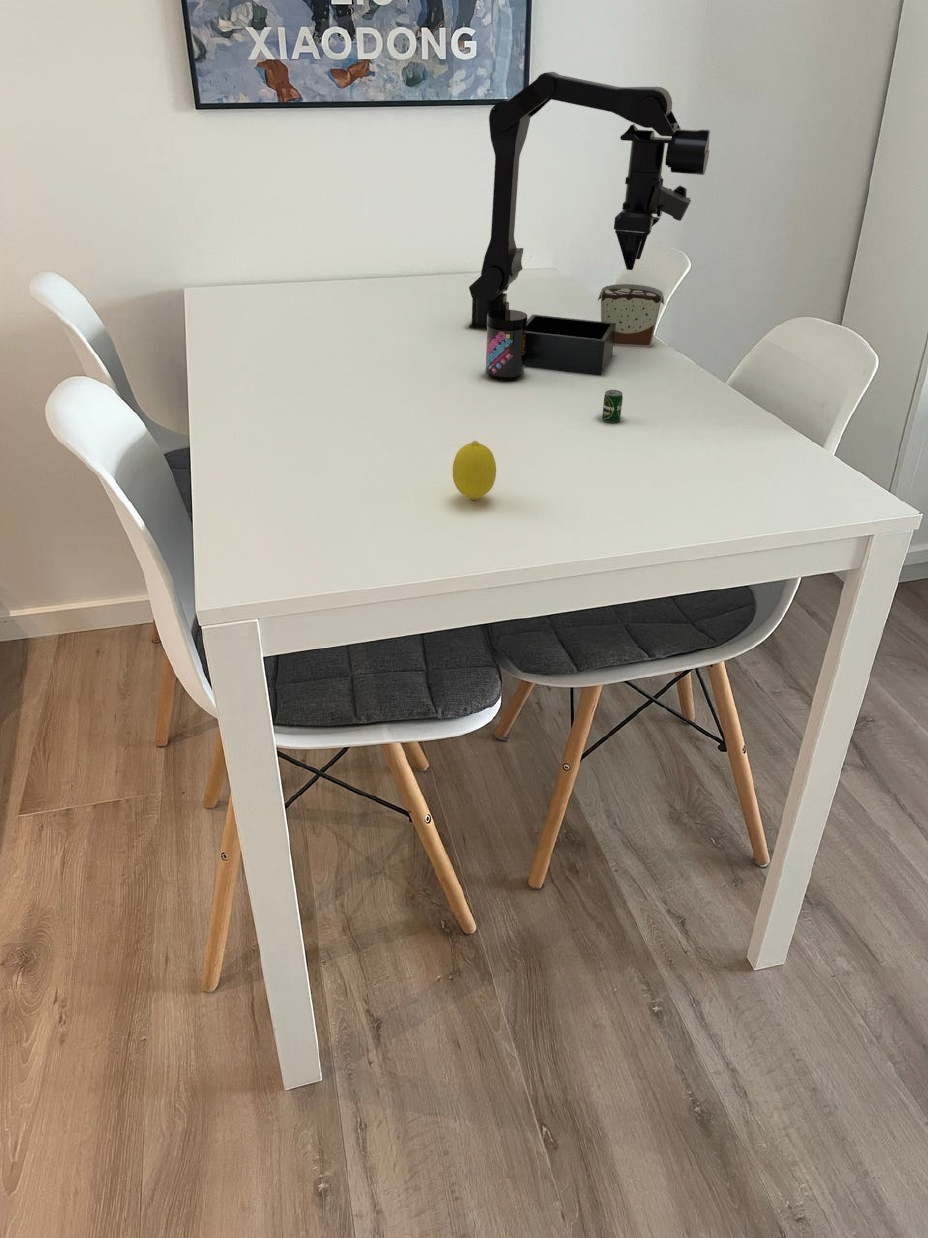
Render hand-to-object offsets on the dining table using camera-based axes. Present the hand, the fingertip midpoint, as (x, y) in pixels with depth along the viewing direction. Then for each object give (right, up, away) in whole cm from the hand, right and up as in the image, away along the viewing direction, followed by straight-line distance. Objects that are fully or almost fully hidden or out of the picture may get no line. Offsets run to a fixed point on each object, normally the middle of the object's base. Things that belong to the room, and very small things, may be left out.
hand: (633, 264), depth 168 cm
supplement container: (-24, -23, -9) cm, 35 cm away
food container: (0, -12, +9) cm, 15 cm away
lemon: (-30, -50, -50) cm, 77 cm away
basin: (-13, -18, -2) cm, 22 cm away
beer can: (-8, -34, -26) cm, 44 cm away
